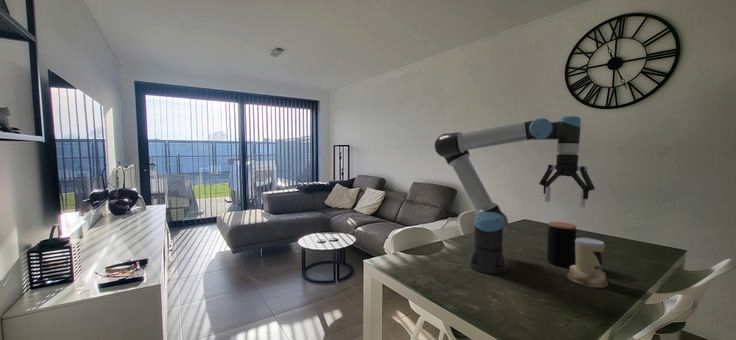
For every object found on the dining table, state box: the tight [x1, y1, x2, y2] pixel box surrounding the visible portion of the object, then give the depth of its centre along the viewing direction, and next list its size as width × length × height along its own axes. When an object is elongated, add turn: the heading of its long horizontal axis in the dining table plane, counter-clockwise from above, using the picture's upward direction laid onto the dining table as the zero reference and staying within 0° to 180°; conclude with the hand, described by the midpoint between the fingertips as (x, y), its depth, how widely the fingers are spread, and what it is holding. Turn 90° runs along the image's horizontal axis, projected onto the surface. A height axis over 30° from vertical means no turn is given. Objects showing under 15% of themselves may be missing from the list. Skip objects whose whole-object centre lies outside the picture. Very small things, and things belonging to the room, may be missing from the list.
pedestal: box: [566, 264, 609, 289], centre depth 115 cm, size 13×13×4 cm
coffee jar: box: [546, 221, 577, 268], centre depth 133 cm, size 11×11×18 cm
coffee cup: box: [575, 237, 606, 275], centre depth 114 cm, size 9×9×12 cm
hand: (563, 204), depth 123 cm, fingers open, 13 cm apart
